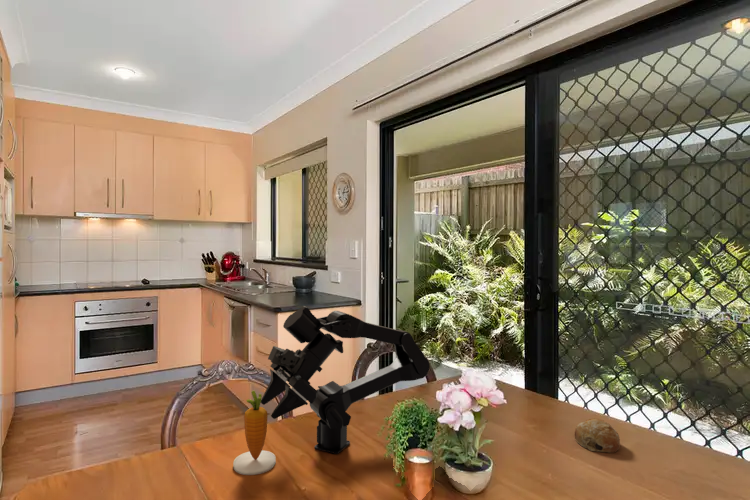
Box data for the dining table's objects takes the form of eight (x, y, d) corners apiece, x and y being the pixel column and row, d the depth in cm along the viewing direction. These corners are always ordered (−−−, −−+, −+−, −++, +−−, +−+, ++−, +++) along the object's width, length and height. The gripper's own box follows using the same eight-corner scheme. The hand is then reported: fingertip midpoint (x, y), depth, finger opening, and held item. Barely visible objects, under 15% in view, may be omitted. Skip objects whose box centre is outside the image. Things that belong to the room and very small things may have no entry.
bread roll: (574, 460, 108) (575, 436, 105) (573, 427, 117) (574, 405, 113) (620, 468, 104) (623, 444, 101) (615, 434, 113) (618, 411, 110)
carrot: (266, 464, 96) (267, 395, 96) (242, 466, 95) (243, 396, 95) (267, 453, 101) (268, 388, 100) (245, 455, 100) (245, 389, 99)
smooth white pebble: (283, 459, 100) (283, 455, 100) (257, 478, 92) (257, 474, 92) (252, 451, 104) (252, 447, 104) (224, 468, 95) (224, 464, 95)
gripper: (278, 326, 109) (232, 377, 104) (303, 341, 93) (250, 403, 88) (308, 354, 113) (266, 404, 108) (338, 374, 97) (288, 434, 92)
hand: (266, 410), depth 99 cm, fingers open, 9 cm apart
